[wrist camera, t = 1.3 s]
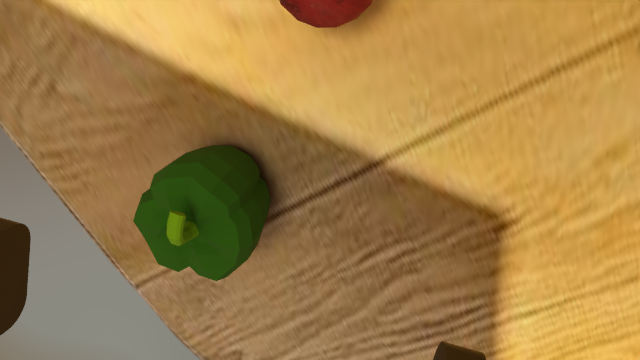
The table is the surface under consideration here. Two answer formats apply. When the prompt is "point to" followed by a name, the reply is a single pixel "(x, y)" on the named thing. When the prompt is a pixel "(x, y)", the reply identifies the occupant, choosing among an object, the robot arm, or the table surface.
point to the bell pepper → (205, 211)
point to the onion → (325, 11)
